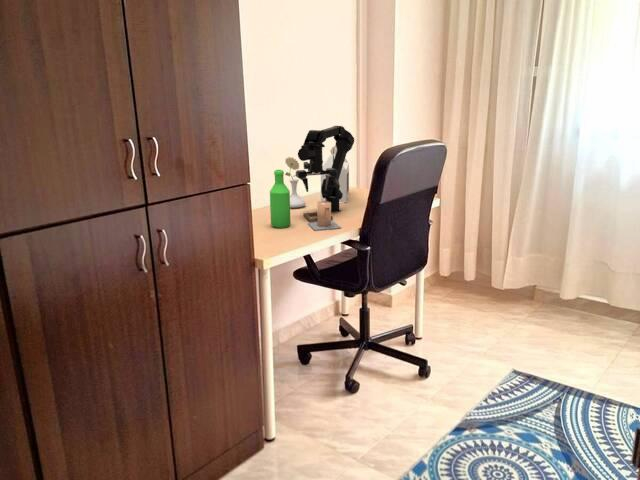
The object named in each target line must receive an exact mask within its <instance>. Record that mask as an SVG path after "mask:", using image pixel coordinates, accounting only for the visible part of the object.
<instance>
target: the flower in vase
mask: <svg viewBox="0 0 640 480" xmlns="http://www.w3.org/2000/svg"><path fill="white" fill-rule="evenodd" d="M285 164H286V166H287V167H288V168H289V171H291V169H292V170H293V171H297V170H299V169H300V163H299V162H298V160H297V159H295V158H294V157H291V156H287V157H286V158H285ZM289 171H287V172H285V173H284V176H288V177H291V178H290V179H288V181H289V183H290V185H291V193H290V209H292V208H294V209H297V208H301V207H304V206H305V205H306V204H307V202H306V200H304V199H303V198H302V197H301V196H300V195H298V192H297V185H298V182H299V181H300V179H299V178H294V177H296V174H294V175H293V176H292V174H291V172H289Z"/></svg>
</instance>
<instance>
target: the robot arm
mask: <svg viewBox="0 0 640 480" xmlns="http://www.w3.org/2000/svg"><path fill="white" fill-rule="evenodd" d="M332 137H333V139H334V140H335V145H336V148H337V152H336V155H335V158H334V162H333V165H332V168H326V170H323V166H324V160H323V148H325V144H324V143H325V142H326V140H327V139H329V138H332ZM354 143H355V138H354V136H353V135H352V133H351V132H350V131H348V130H347V129H346V128H345V127H344V126H343V125H333V126H331V127H328V128H323V129H321V130H319V129H318V130H316V129H310V130H308V133H307V134H306V137H305V138H304V142H303V144H302V145H301V146H300V149H298V151H297V157H298V160H300V161H302V162H303V169H300V170H299V169H296V170H295V175H296V176H295V177H296V178H297V179H299V180H302V183H303V186H304V188H305V191H306V193H308V192H309V181H308V180H309V179H308V178H307V176H321V175H324V174H327V175H326V179H324V180H323V183H322V185H321V184H320V194H321V193H322V197H323V198H325V201H327V202H331V213H335V212H336V213H337V212H341V209H340V203H339V199H341V198H342V196H343V194H342V192H341V191H340V189H339V188H340V185H339V181H338V180H339V177H340V173H341V170H342V167H343V164H344V160H345V159H346V156H347V154H348V153H349V151H351V150H352V148H353V145H354ZM308 161H309V162H308ZM306 170H307V171H306Z"/></svg>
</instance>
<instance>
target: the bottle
mask: <svg viewBox="0 0 640 480" xmlns="http://www.w3.org/2000/svg"><path fill="white" fill-rule="evenodd" d="M273 175H274V184H273V185H272V187H271V189H270V190H269V206H270V210H269V211H270V225H271V226H272V227H273V228H275V229H277V228H278V229H283V228H288V227H290V225H291V222H292V221H291V207H290V196H291V192H290V190H289V188H288V186H287V185H286V184H285V182H284V175H285V171H284V170H283V169H275V170H274V172H273Z"/></svg>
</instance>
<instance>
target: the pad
mask: <svg viewBox="0 0 640 480" xmlns="http://www.w3.org/2000/svg"><path fill="white" fill-rule="evenodd" d="M307 225H308V226H309V227H310V229H312V230H313V232H319V231H320V232H321V231H330V230H332V231H333V230H341V229H342V227H341V225H339V224H338V223H337V222H335V221H334V220H333V221H331V226H328V227H321V226H318V225H317V222H311V223H309V222H307Z"/></svg>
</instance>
